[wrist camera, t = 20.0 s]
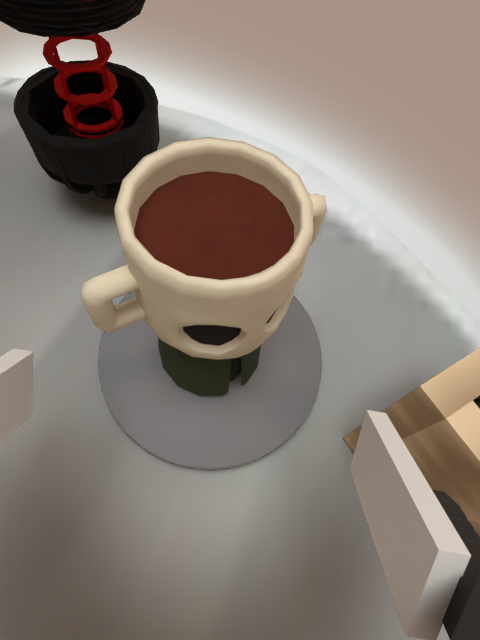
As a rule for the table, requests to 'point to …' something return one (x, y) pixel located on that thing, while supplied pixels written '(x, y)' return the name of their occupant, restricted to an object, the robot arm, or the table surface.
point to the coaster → (211, 411)
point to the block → (444, 433)
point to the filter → (83, 96)
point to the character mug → (208, 256)
